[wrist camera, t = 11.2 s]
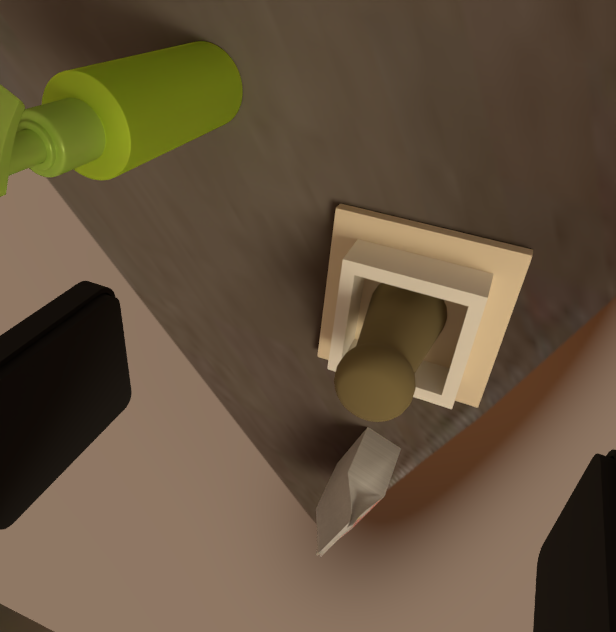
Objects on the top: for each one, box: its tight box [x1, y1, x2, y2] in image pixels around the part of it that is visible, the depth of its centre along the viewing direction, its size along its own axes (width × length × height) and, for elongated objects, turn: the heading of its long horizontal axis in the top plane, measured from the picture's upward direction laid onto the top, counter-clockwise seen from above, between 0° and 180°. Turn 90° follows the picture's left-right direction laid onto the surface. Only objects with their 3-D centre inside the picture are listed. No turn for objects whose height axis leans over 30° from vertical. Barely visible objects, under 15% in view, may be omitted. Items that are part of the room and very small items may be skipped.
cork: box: [334, 283, 447, 422], centre depth 39 cm, size 6×6×11 cm
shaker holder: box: [318, 203, 533, 409], centre depth 42 cm, size 14×14×4 cm
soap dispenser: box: [0, 41, 242, 197], centre depth 33 cm, size 6×7×20 cm
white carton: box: [316, 427, 401, 557], centre depth 50 cm, size 4×7×10 cm, turn 154°
